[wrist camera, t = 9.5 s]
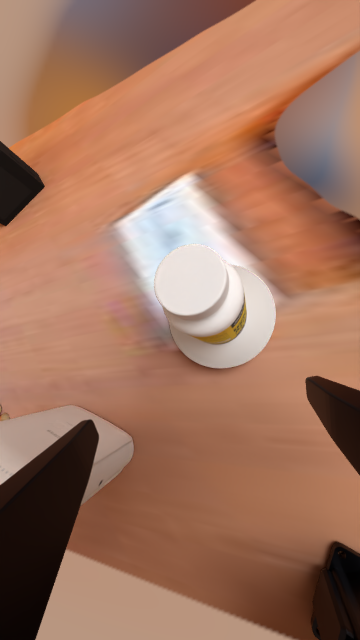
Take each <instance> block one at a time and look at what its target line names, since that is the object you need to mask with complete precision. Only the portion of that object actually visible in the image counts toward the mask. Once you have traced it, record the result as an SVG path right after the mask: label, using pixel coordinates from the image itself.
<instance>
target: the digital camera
mask: <svg viewBox="0 0 360 640" xmlns="http://www.w3.org/2000/svg"><path fill="white" fill-rule="evenodd" d="M44 187H45V186H44V184H43V182H42V181H41V179H40V177H39V175H38V174H37V173H36V172H35V171H34V170H33V169H32V168H31V167H30V166H28V165H27V164H26V163H25V162H24V161H23V160H21V159H20V158H19V157H18V156H17V155H16V154H14V153H13V152H12V151H11V150H10V149H9V148H8V147H6V146H5V145H4V144H3V143H2V142H1V141H0V223H1V224H3V225H5V226H7V225H8V224H9V223H10V222H11V221H12V220H13V219H14V217H15V216H16V215H17V214H18V213H19V212H20V211H21V210H22V209H23V208H24V207H25V206H26V205H27V204H28V203H29V202H30V201H31V200H32V199H33V198H34V197H35V196H36V195H37V194H38V193H39V192H40V191H41V190H42V189H43V188H44Z"/></svg>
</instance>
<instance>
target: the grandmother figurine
mask: <svg viewBox="0 0 360 640" xmlns="http://www.w3.org/2000/svg"><path fill="white" fill-rule="evenodd" d="M1 410H2V407H1V405H0V413H1ZM8 419H9V415H8V414H7V413H4V414H2V415H1V416H0V421H4V420H8Z"/></svg>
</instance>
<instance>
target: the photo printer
mask: <svg viewBox="0 0 360 640" xmlns="http://www.w3.org/2000/svg"><path fill="white" fill-rule="evenodd" d="M88 419H91V420H93V422H94V424H95V426H96V429H97V431H98V434H99V442H98V446H97V450H96V454H95V458H94V463H93V467H92V471H91V475H90V478H89V481H88V485H87V488H86V491H85V494H84V497H83V500H82V503H81V505H83V504H84V503H85V502H86V501H87V500H89V499H90V498H91V497H92V496H93V495H94V494H96V493H97V492H98V491H99V490H100V489H102V488H103V487H104V486H105V485H106V484H108V483H109V482H110V481H111V480H112V479H114V478H115V477H116V476H117V475H118V474H119V473H121V471H122V470H123V468H124V467H125V466H126V465H127V464H128V463H129V462H130V460H131V459H132V456H133V452H134V444H133V441H132V440H133V438H132V437H131V436H130V435H129V434H127V433H126V432H125V431H123V430H122V429H120V428H118V427H117V426H115V425H113V424H111V423H110V422H108V421H106V420H104V419H102V418H101V417H99V416H97V415H95V414H93V413H91V412H89V411H87V410H85V409H83V408H81V407H78V406H74V405H67V406H63V407H59V408H54V409H50V410H46V411H42V412H37V413H33V414H29V415H25V416H21V417H16V418H12V419H8V420H4V421H0V485H1V484H2V483H3V482H5V481H6V480H7V479H8V478H10V477H11V476H12V475H14V474H15V473H16V472H17V471H19V470H20V469H21V468H22V467H24V466H25V465H26V464H28V463H29V462H30V461H31V460H33V459H34V458H35V457H36V456H38V455H39V454H40V453H42V452H43V451H44V450H45V449H47V448H48V447H49V446H50V445H52V444H53V443H54V442H55V441H57V440H58V439H59V438H61V437H62V436H63V435H64V434H66V433H67V432H68V431H69V430H71V429H72V428H73V427H75V426H76V425H77V424H78V423H80V422H81V421H83V420H88Z"/></svg>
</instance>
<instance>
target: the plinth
mask: <svg viewBox="0 0 360 640" xmlns="http://www.w3.org/2000/svg"><path fill="white" fill-rule="evenodd" d="M231 266H232V267H234V269H235V270H236V271H237V273H238V274H239V276H240V278H241V281H242V284H243V288H244V294H245V302H246V310H247V319H246V323H245V326H244V328H243V330H242V332H241V333H240V334H239V335H238V336H237V337H236V338H235V339H234V340H232V341H230V342H228V343H225V344H218V345H214V344H209V343H206V342H203V341H201V340H199V339H196V338H194V337H192V336H189V335H187V334H185V333H183V332H181V331H179V330H178V329H176V328H175V327H174V326H173V325H172V324H171V323H170V321H169V326H170V330H171V334H172V337H173V339H174V341H175V343H176V344H177V346H178V347H179V349H180V350H181V351H182V352H183V353H184V354H185V355H186V356H187V357H188V358H190V359H191V360H193V361H194V362H196V363H198V364H200V365H203V366H206V367H211V368H230V367H234V366H239V365H241V364H244V363H246V362H248V361H250V360H251V359H253V358H254V357H256V356H257V355H258V354H259V353H260V352H261V351H262V350H263V348H264V347H265V346H266V344H267V342H268V341H269V339H270V337H271V335H272V332H273V329H274V325H275V319H276V310H275V304H274V300H273V297H272V294H271V292H270V290H269V289H268V287H267V286H266V284H265V283H264V282H263V281H262V280H261V279H260V278H259V277H258V276H257V275H255V274H254V273H253V272H251V271H249V270H247V269H245V268H242V267H239V266H235V265H231Z"/></svg>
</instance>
